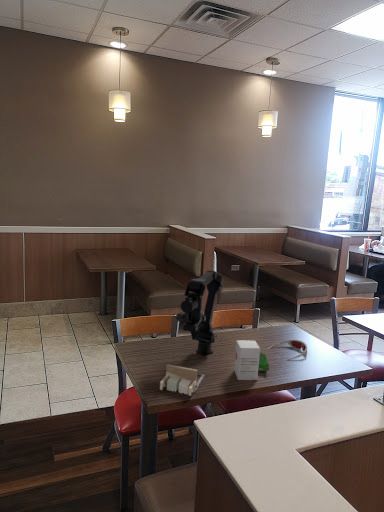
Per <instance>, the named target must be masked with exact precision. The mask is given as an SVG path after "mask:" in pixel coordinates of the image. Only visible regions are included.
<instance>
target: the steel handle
mask: <svg viewBox="0 0 384 512" xmlns="http://www.w3.org/2000/svg"><path fill="white" fill-rule="evenodd" d="M197 376H200V377H199V379H197V388H195V390H194V392H193V393H196V391H197V389H198V387H199V386H200V384H201V382H202V381H203V379H204V378H205V374H204V373H199V372H197ZM164 388H167V384H166V386H165V387H164Z"/></svg>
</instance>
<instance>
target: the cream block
mask: <svg viewBox="0 0 384 512" xmlns="http://www.w3.org/2000/svg"><path fill="white" fill-rule="evenodd" d="M190 385H191V381H189V380H184V379H182V380H181V381H180V383H179V389H178V392H179V393H178V394H183V393H184V395H189V394H188V392H189V387H190Z"/></svg>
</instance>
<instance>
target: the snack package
mask: <svg viewBox="0 0 384 512" xmlns="http://www.w3.org/2000/svg"><path fill="white" fill-rule="evenodd" d="M269 365H270V364H269V361H268V357H267V354H266V353H264V352H260V356H259V368H258V372H259V371H262V372H265V371H269V370H270V368H269Z"/></svg>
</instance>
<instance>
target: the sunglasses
mask: <svg viewBox="0 0 384 512" xmlns="http://www.w3.org/2000/svg"><path fill="white" fill-rule="evenodd" d="M282 344H288V345H289V346H290V347H291V348H293V349H297V350H302V352H301V353H300V354H298V355H296V356H294V357H289V358H287V359H285V361H291V360H293V359H297V358H300V357H303V356H304V355H305V356H307V355H308V346H307V344H306V342H304V341H302V340H298V339H285V340H282V341H279V342H276V343H274V344H273V345H271V346H270V347H268V350H269V349H272V348H273V347H275V346H278V345H282Z"/></svg>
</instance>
